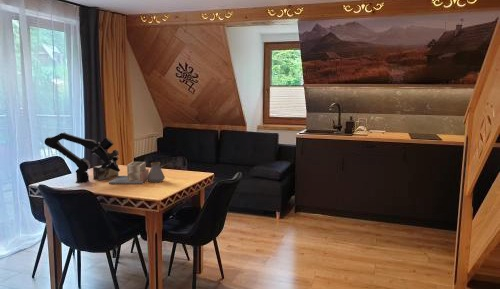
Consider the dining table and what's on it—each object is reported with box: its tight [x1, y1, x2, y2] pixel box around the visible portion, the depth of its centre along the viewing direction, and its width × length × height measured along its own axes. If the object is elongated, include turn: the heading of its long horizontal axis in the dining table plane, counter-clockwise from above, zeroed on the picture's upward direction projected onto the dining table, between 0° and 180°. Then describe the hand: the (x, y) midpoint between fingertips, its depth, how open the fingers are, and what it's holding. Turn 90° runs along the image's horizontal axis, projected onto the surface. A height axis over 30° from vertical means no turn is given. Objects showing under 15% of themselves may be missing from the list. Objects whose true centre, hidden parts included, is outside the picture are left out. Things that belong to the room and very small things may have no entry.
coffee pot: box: [147, 161, 172, 184], centre depth 250 cm, size 21×12×15 cm, turn 54°
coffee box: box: [92, 163, 120, 181], centre depth 264 cm, size 9×6×16 cm
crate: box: [126, 161, 147, 181], centre depth 254 cm, size 9×12×11 cm
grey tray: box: [108, 168, 150, 185], centre depth 254 cm, size 22×18×7 cm
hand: (119, 171), depth 254 cm, fingers closed
